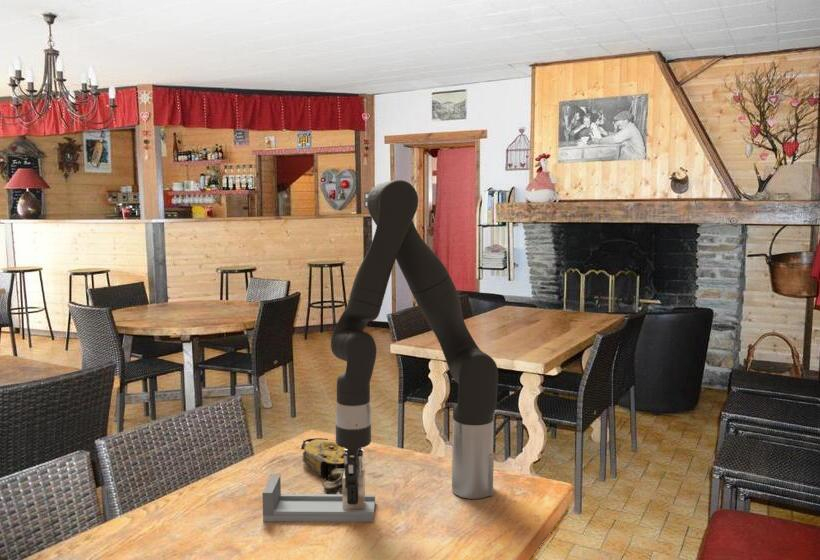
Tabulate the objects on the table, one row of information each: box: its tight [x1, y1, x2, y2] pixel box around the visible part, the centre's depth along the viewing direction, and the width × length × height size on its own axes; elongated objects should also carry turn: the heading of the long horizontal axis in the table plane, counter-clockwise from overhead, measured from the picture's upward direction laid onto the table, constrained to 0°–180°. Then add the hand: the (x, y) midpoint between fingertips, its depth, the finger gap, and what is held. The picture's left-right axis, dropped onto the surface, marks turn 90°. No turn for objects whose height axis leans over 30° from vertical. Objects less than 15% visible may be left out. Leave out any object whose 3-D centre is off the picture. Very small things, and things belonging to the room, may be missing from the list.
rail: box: [262, 474, 376, 523], centre depth 146 cm, size 23×9×6 cm, turn 90°
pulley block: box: [300, 437, 346, 494], centre depth 168 cm, size 14×6×30 cm
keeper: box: [342, 469, 366, 510], centre depth 146 cm, size 4×4×7 cm
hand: (353, 498), depth 146 cm, fingers closed on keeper, 4 cm apart
